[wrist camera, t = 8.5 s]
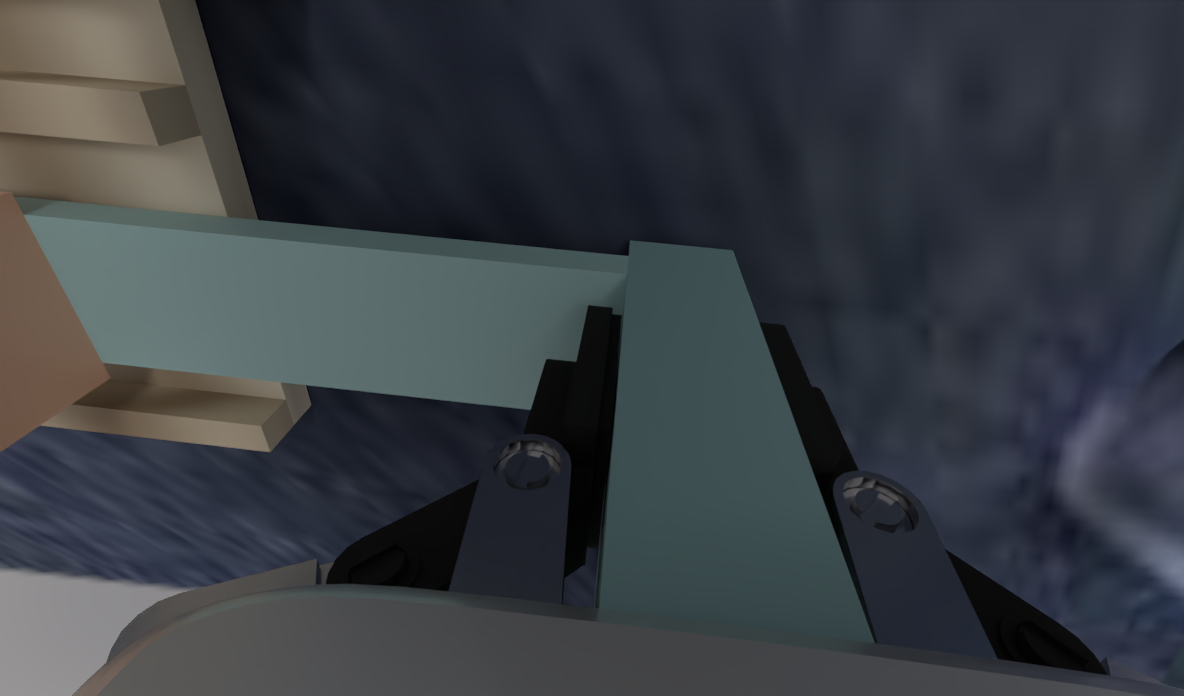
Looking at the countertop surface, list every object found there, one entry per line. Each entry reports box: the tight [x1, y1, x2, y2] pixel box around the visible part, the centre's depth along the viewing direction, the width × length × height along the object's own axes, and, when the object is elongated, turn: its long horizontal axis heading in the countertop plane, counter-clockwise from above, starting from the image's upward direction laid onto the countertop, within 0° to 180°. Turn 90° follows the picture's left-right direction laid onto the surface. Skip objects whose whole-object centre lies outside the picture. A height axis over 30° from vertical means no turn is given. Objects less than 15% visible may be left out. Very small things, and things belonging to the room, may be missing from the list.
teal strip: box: [14, 196, 875, 643], centre depth 10 cm, size 22×4×10 cm, turn 86°
